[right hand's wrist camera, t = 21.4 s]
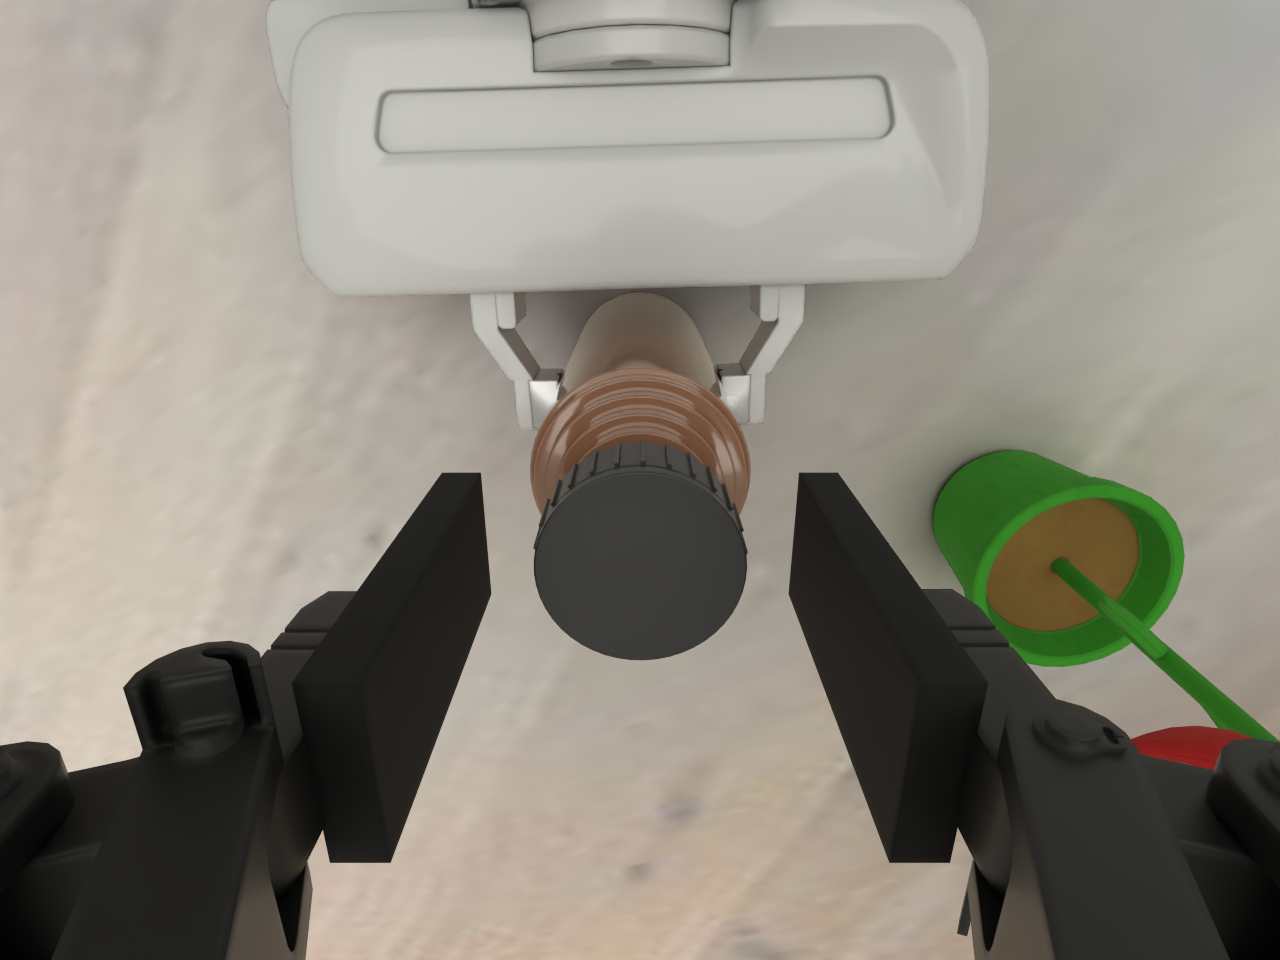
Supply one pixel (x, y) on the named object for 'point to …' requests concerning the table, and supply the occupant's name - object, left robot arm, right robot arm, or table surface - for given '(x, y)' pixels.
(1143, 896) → the right robot arm
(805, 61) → the left robot arm
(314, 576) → the table surface
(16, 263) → the table surface
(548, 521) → the cap
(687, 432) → the bottle
